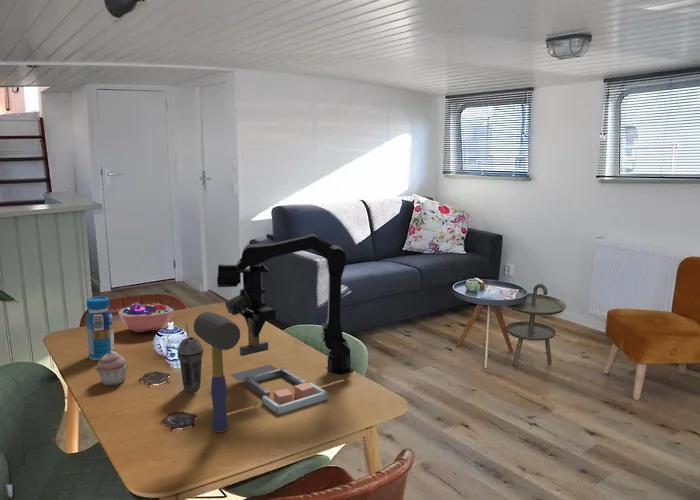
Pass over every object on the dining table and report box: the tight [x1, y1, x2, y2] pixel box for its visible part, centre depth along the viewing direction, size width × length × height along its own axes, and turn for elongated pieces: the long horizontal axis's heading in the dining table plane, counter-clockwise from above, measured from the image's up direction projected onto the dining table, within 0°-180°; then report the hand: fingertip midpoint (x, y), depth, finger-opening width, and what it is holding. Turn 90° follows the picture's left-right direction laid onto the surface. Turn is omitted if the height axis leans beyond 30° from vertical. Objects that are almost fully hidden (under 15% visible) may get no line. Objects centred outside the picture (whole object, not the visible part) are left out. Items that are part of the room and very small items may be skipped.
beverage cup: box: [177, 324, 204, 393], centre depth 170 cm, size 7×7×20 cm
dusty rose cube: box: [273, 388, 294, 405], centre depth 163 cm, size 4×4×4 cm
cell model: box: [117, 301, 174, 333], centre depth 223 cm, size 17×20×11 cm
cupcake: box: [95, 350, 130, 387], centre depth 176 cm, size 9×9×10 cm
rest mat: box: [230, 364, 278, 382], centre depth 183 cm, size 14×6×1 cm, turn 127°
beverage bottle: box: [85, 295, 116, 361], centre depth 196 cm, size 8×8×20 cm
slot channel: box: [244, 367, 307, 399], centre depth 173 cm, size 13×13×2 cm
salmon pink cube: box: [293, 381, 315, 400], centre depth 167 cm, size 4×4×4 cm
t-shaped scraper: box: [239, 318, 269, 357], centre depth 181 cm, size 9×2×11 cm, turn 127°
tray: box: [261, 382, 329, 415], centre depth 164 cm, size 16×8×2 cm, turn 127°
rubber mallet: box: [193, 311, 241, 433], centre depth 145 cm, size 12×8×30 cm, turn 39°
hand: (254, 335), depth 181 cm, fingers closed on t-shaped scraper, 2 cm apart
